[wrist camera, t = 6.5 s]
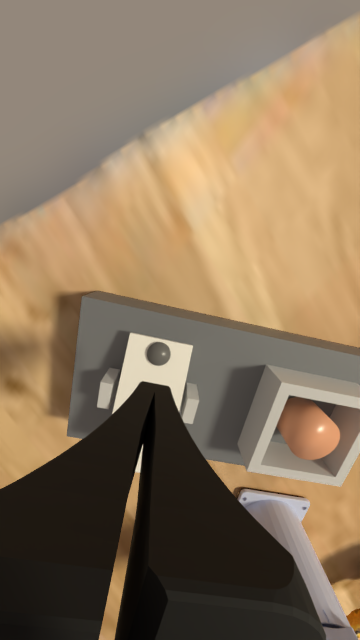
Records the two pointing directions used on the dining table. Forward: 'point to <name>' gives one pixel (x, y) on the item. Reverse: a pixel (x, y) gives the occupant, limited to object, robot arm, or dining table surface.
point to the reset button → (307, 429)
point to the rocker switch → (153, 368)
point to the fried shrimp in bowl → (355, 621)
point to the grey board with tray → (224, 383)
